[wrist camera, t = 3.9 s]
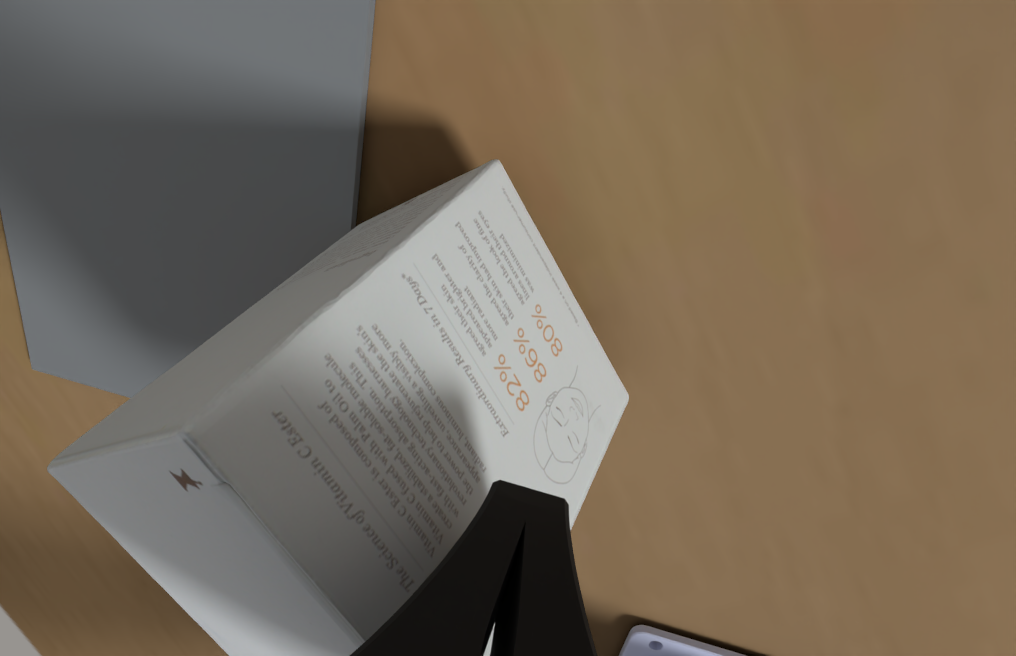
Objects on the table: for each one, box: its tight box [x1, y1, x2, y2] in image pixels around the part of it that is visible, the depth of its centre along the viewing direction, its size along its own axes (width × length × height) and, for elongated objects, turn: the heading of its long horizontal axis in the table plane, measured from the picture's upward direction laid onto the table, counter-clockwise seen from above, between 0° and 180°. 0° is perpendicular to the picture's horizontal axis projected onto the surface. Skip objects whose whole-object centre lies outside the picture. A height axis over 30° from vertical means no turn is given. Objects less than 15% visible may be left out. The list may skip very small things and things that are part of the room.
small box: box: [47, 159, 629, 656], centre depth 16 cm, size 8×6×10 cm
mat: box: [0, 0, 375, 398], centre depth 21 cm, size 12×16×1 cm
